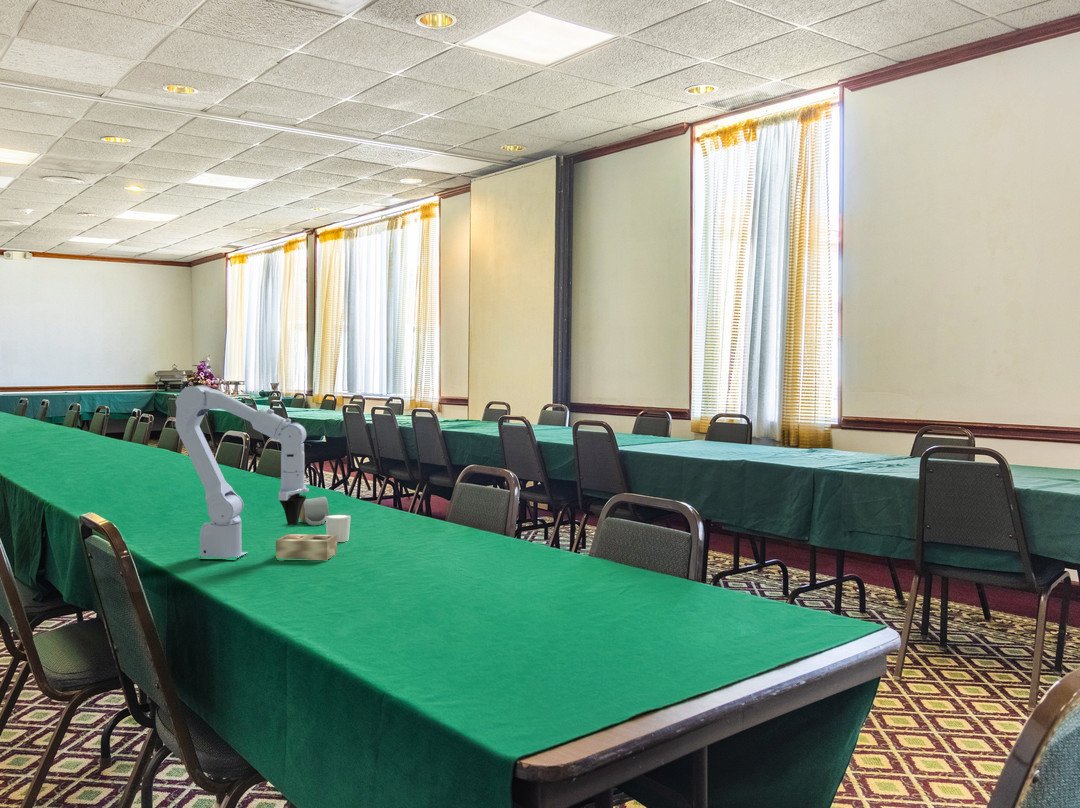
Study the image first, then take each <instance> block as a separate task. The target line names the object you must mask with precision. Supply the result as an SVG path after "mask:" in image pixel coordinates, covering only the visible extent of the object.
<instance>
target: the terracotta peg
mask: <svg viewBox="0 0 1080 808" xmlns="http://www.w3.org/2000/svg"><path fill="white" fill-rule="evenodd" d="M300 538H301V536H298V535H291V536H286V539H300Z"/></svg>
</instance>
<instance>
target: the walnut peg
mask: <svg viewBox="0 0 1080 808" xmlns="http://www.w3.org/2000/svg"><path fill="white" fill-rule="evenodd" d="M327 539H328V537H327V536H315V537H313V540H327Z"/></svg>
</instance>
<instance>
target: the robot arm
mask: <svg viewBox="0 0 1080 808" xmlns="http://www.w3.org/2000/svg"><path fill="white" fill-rule="evenodd" d="M175 399H176V400H175V406H176V410H175V411H176V412H175V421H174V427H175V429H176V432H177V433H178V436H179V438H180V440H181V442H182V444H183V446H184V449H185V450H186V452H187V453H186V454H188V456H189V458H190V460H191V463H192V466H193V467H194V469H195V472H196V474H197V475H198V478H199V479H200V482H201V483H202V486H203V488H204V490H205V497H204V499H205V503H206V504H207V515H208V518H209V519H210V521H209V522H207V521H206V522H205V523H203V524H202V526H200V527H201V528H200V532H199V557H200V556H204V557H218V558H230V557H237V556H238V557H239V556H241V555H244V554H246V553H248V551H243V550H242V547H243V546H242V544H243V543H242V518H241V517H240V515H241V514H242V512H243V511H244V507H245V504H244V501H243V499H242V497H241V496H240V495H238V494H237V493H236V492H235V490H234V488H233V486H231V485H230V484H229V483H228V482H227V481H226V479H225V476H224V475H223V473H222V471H221V469H220V466H219V465H218V461H217V460H216V458H215V456H214V454H213V452H212V450H211V447H210V445H209V443H208V441H207V438H206V437H205V434H204V433H203V431H202V429H201V427H200V425H201V424H202V421H203V419H204V418H205V415H206V414H207V413H208V412H209V410H219V409H220V410H223V411H226V412H227V413H230V414H232V415H235V416H237V417H238V418H241V419H243V420H246V421H248V422H250V424H251V426H252V429H253V430H255V431H257V432H259V433H261V434H263V435H265V436H267V437H269V438H271V439H273V440H275V441H277V440H278V442H279V444H281V445H280V446H281V452H280V489H279V492H278V501H279V503H280V504H281V506H282V508H283V511H284V515H285V517H286V519H285V520H286V523H287V525H288V526H296V525H298V524H299V520H300V512H301V508H302V505H303V503H304V501H305V499H307V495H306V494H302V495H301V493H308V492H310V488H309V487H307V484H305V443H304V442H305V441H306V439H307V430H306V428H305V427H304V425H302V424H300V422H292V419H291V418H288V417H287V418H284V417H282V416H280V415H278V414H276V413H274V412H275V410H274V409H271V408H268V409H266V408H261V409H258V410H256V409H255V408H254V407H251V406H249V405H248V404H245V403H244V402H241V401H240V400H238V399H236V398H234V397H233V396H231V395H229V394H227V393H225V392H223V391H220V390H219V389H215V388H211V387H210V386H208V385H198V386H192V385H191V386H190V385H189V386H186V387H184V388H183V389H181V391H180V392H179V394H178V396H177V397H176V398H175ZM248 554H249V553H248ZM246 555H247V554H246ZM244 556H245V555H244Z"/></svg>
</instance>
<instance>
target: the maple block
mask: <svg viewBox="0 0 1080 808" xmlns="http://www.w3.org/2000/svg"><path fill="white" fill-rule="evenodd" d="M291 535H298V536H301V538H300V539H286V536H291ZM315 536H327V537H328V539H327V540H313V537H315ZM337 545H338V543H337V535H327V534H308V533H307V534H299V533H297V534H295V533H286V534H284V535H283V536H281V537H280V538H278V539H276V540H275V559H276V558H281V559H308V560H328V559H329V558H331V557H332V556H333V555H335V554H336V553H337V552H338V548H337V547H338V546H337ZM337 554H338V553H337ZM337 554H336V555H337ZM336 555H335V556H336ZM332 558H333V557H332ZM332 558H331V559H332ZM328 561H329V560H328Z"/></svg>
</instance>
